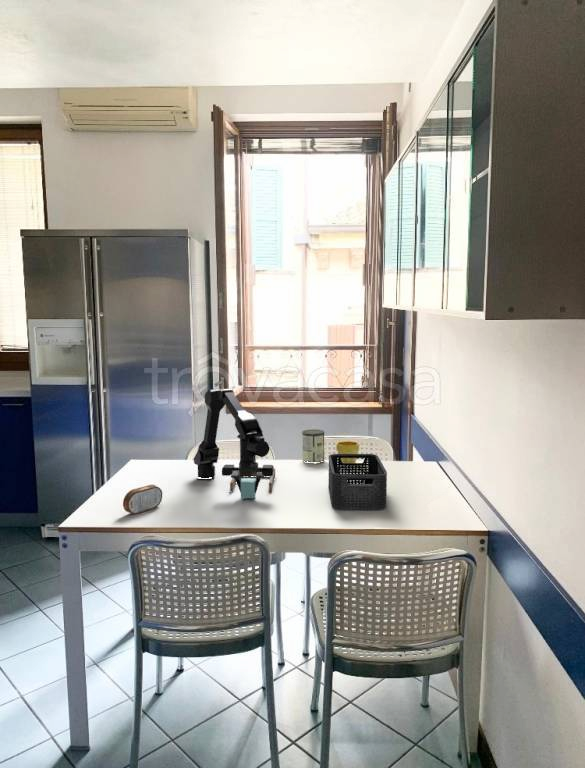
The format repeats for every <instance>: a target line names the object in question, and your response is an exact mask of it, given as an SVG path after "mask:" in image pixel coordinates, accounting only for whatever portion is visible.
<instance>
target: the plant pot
mask: <svg viewBox="0 0 585 768" xmlns="http://www.w3.org/2000/svg"><path fill="white" fill-rule="evenodd" d="M335 445H336V452H337V454H359V453H358V452H359V451H360V443H359V442H357V441H355V440H353V441H351V440H343V441H338V442H336V444H335ZM341 461H342V463H357V458H341Z"/></svg>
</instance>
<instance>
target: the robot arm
mask: <svg viewBox="0 0 585 768" xmlns="http://www.w3.org/2000/svg"><path fill="white" fill-rule="evenodd" d="M204 404H205V405H206V408H207V412H206V413H207V414H206V419H205V427H204V433H203V440H202V442H200V444H199V445H198V446H197V447H198V448H197V452H196V454H195V455H194V457H193V464H194V465H197V477H201V478H209V477H214V478H215V477H216V466H215V465H214V464H216V463H218V459H219V452H220V448H219V447H218V444H217V443H216V440H217V436H218V435H217V434H218V427H219V420H220V415H221V414H220V412H221V410H223V408H224V407H225V406H226V408H227V409H228V411H229V413H230V414H231V416H232V417H233V419H234V426H235V429H236V431H237V433H238V435H237V436H236V437H237V438H238V439H239V463H238V467H235V464H224V465H223V467H222V469H221V476H223V477H226V476H227V477H230V478H234V479H235V480H236V482H237V484H236V486H237V487H238V489H239V492H240V494H241V480H242V478H244V477H243V476H248V477H247V478H252V477H251V476H252V475H253V473H257V475H256V477H255V478H256V483H255V493H256V494H257V492H258V489H259V488H258V487H259V484H260V481H261V480H262V479H263V478H265V477H264V476H273V473H274V469H275V467H274V466H273V464H263V465H262V467H259V462H256V461H257V459H256V457H260V458H263V457H266V456H267V455H268V454H269V452H270V445H269V443H268V442H267V441H265V437H264V434H263V430H262V428H261V426H260V423H259V421H258V419H257V418H256V417H255V415H253V414H252V413H250V412H248V411H246V409H245V408H244V406H243V405H242V403H241V402H240V401H239V399H238V398H237V396H236V395H235V393H234V389H232V388H216V389H215V388H214V389H213V388H212V389H208V390H205V393H204Z"/></svg>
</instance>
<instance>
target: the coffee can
mask: <svg viewBox="0 0 585 768" xmlns="http://www.w3.org/2000/svg"><path fill="white" fill-rule="evenodd" d="M301 433H302V462H303V461H305V462H307V461H308V462H321V461H324V462H325V430H322V429H315V428H314V429H306V430H305V429H304V430H303V431H302V432H301Z"/></svg>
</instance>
